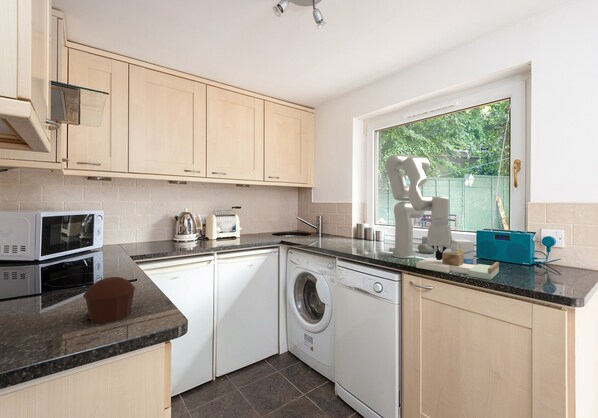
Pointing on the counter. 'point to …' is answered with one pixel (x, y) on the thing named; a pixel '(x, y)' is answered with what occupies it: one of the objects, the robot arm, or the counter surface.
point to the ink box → (464, 249)
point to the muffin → (109, 299)
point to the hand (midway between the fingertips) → (439, 259)
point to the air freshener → (425, 247)
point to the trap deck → (460, 268)
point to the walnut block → (452, 258)
